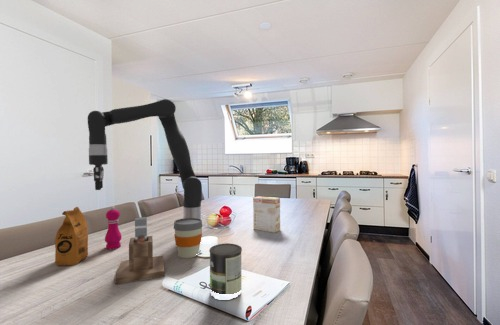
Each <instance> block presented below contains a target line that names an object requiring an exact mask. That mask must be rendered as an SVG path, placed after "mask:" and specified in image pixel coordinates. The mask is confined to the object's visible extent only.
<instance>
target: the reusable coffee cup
mask: <svg viewBox="0 0 500 325" xmlns="http://www.w3.org/2000/svg"><path fill="white" fill-rule="evenodd" d="M202 221H203V220H202V218H201V219H198V218H184V219H183V218H179V219H175V220H174V223H173V230H174V242H175V243H174V244H175V246H176V248H177V255H178V257H179V258H182V259H190V258H194V257H196V256H195V255H196V254H198V253H199V252H200V246H201V245H200V244H201V243H202V239H201V236H202V237H203V231H202V232H201V228H202V229H203V222H202ZM200 242H201V243H200ZM198 255H199V254H198Z"/></svg>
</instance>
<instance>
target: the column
mask: <svg viewBox="0 0 500 325" xmlns="http://www.w3.org/2000/svg"><path fill="white" fill-rule="evenodd" d="M147 218H148V217H147V216H140V217H135V218H134V238H135V242H137V238H142V237H144V241H147V236H148V221H147V220H148V219H147Z"/></svg>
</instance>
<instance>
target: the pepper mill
mask: <svg viewBox="0 0 500 325" xmlns="http://www.w3.org/2000/svg"><path fill="white" fill-rule="evenodd" d="M120 216H121V214H120V211H119V210H118V209H116V207H115V206H113V205H112V206H110V209H109V210H108V211H107V212H106V213H105V218H106V219H107V221H106V222H107V225H108V226H107V227H108V228H107V231H106V234H105V236H104V242H105V243H106V245H105V248H106V250H115V249H119V248H120V247H121V244H122V243H121V240H122V237H123V236H122V233H121V231H120V229H119V222H120V221H119V218H120Z"/></svg>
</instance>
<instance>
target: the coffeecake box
mask: <svg viewBox="0 0 500 325" xmlns="http://www.w3.org/2000/svg"><path fill="white" fill-rule="evenodd" d="M252 200H253V202H252V203H253V204H252V206H253V208H252V209H253V213H252V214H253V215H252V216H253V219H252V220H253V223H252V224H253V230H256V231H263V232H269V233H275V234H276V233H277V232H279V231H281V198H280V197H273V196H259V195H258V196H254V197H253V199H252Z"/></svg>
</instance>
